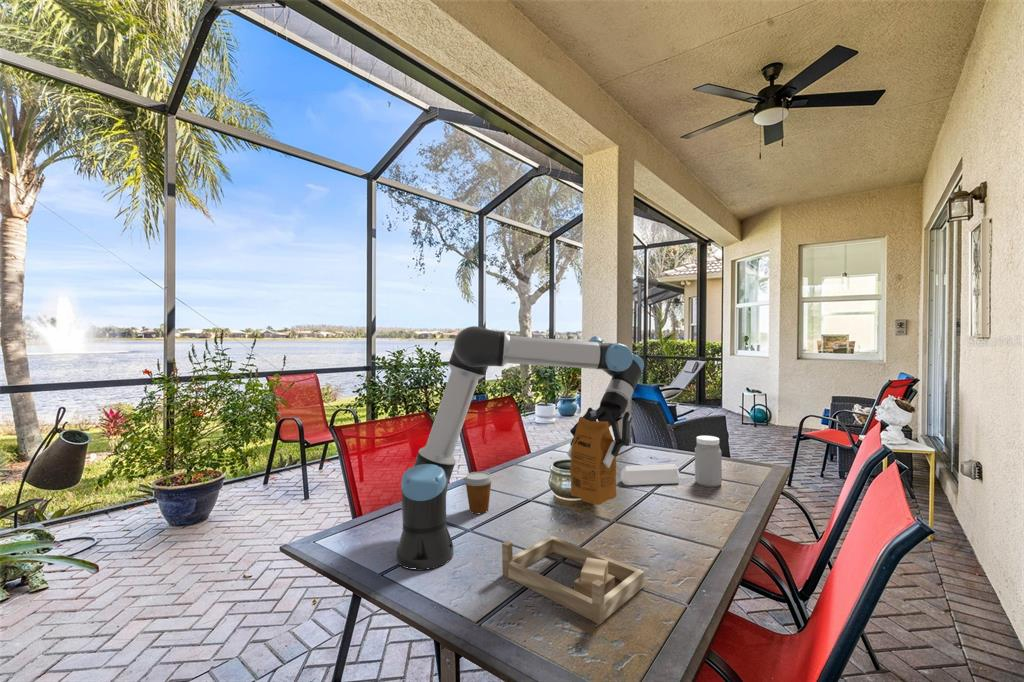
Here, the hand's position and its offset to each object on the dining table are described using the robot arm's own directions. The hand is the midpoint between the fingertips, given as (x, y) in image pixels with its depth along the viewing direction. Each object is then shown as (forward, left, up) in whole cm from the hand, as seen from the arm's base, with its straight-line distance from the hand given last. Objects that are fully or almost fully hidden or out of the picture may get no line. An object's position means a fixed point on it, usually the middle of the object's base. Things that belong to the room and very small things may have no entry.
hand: (587, 461), depth 125 cm
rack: (-16, -6, -25) cm, 30 cm away
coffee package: (+3, 0, -11) cm, 11 cm away
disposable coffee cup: (-2, +44, -25) cm, 50 cm away
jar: (+76, -3, -25) cm, 80 cm away
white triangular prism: (+63, +14, -25) cm, 69 cm away
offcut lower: (-15, -12, -25) cm, 32 cm away
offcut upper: (-16, -12, -22) cm, 30 cm away
